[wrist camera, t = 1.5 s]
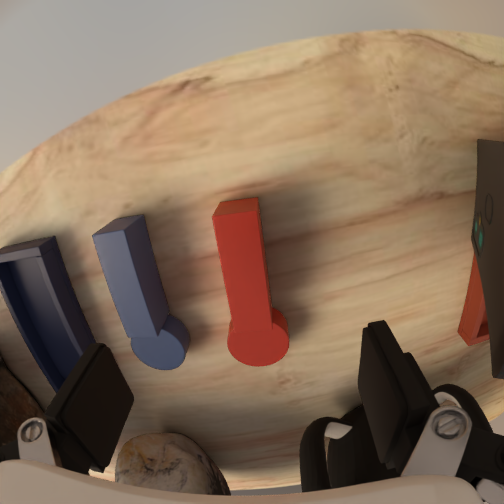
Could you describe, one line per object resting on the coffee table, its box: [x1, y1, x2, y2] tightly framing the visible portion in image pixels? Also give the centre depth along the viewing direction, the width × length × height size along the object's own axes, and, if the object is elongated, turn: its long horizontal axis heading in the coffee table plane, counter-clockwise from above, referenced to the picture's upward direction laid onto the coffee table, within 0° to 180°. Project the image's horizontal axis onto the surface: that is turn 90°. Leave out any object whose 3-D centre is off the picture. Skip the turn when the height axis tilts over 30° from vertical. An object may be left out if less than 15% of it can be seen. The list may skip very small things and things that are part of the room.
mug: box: [300, 384, 493, 493], centre depth 20 cm, size 16×16×12 cm
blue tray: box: [0, 236, 96, 393], centre depth 21 cm, size 15×7×2 cm, turn 8°
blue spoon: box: [92, 214, 190, 370], centre depth 19 cm, size 11×4×3 cm, turn 8°
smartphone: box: [471, 139, 504, 379], centre depth 11 cm, size 7×1×15 cm
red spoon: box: [212, 197, 289, 366], centre depth 18 cm, size 11×4×3 cm, turn 8°
